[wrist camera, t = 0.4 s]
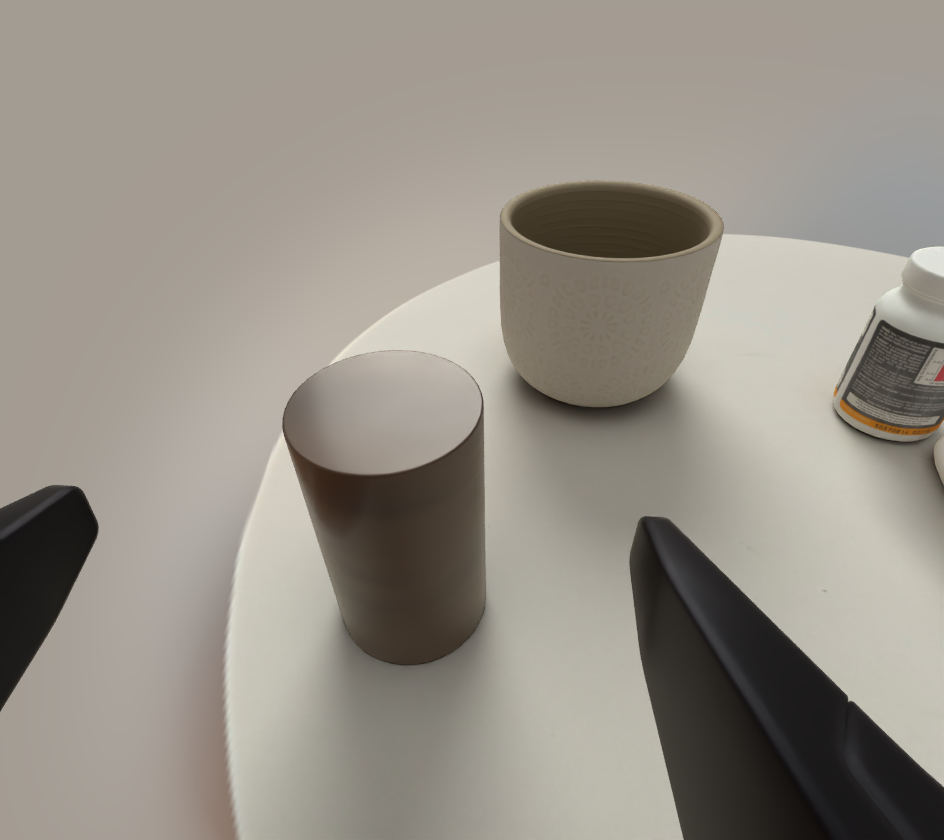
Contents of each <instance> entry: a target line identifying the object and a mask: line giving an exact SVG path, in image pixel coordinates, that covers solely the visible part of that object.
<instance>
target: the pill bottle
mask: <svg viewBox="0 0 944 840" xmlns="http://www.w3.org/2000/svg"><path fill="white" fill-rule="evenodd" d="M901 275H902V282H903V285H902V286H899V287H897V288H894V289H892V290H890V291H888V292H887V293H885V294H884V295H883V296H882V297H881V298H880V299H879V300H878V302H877V303H876V305H875V307H874V309H873V311H872V313H871V315H870V318H869V320H868V322H867V324H866V326H865V328H864V330H863V332H862V335H861V337H860V339H859V341H858V343H857V345H856V347H855V349H854V351H853V353H852V355H851V357H850V359H849V361H848V363H847V365H846V367H845V369H844V371H843V373H842V375H841V377H840V379H839V382H838V384H837V386H836V388H835V391H834V393H833V400H832V401H833V405H834V407H835V409H836V411H837V412H838V414H839V415H840V416H841V417H842V418H843V419H844V420H845V421H846V422H848V423H849V424H850V425H852V426H853V427H855V428H857V429H859V430H860V431H863V432H865V433H867V434H870V435H872V436H875V437H879V438H883V439H887V440H893V441H902V442H908V441H917V440H921V439H926V438H927V437H929V436H931V435H932V434H933V433H934V432H935V431H936V430H937V429H938V428H939V426H940V425H941V423H942V422H943V420H944V247H928V248H923V249H919V250H917V251H915V252H914V253H913V254H912V255H911V257H910V258H909V260H908V262H907V264H906V266H905V268H904V270H903V271H902V274H901Z"/></svg>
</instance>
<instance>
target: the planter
mask: <svg viewBox="0 0 944 840" xmlns="http://www.w3.org/2000/svg"><path fill="white" fill-rule="evenodd" d="M723 230H724V225H723V221H722V219H721V217H720V216H719V214H718V213H717V212H716V211H715V210H713V209H712V208H711V207H710V206H708V205H707V204H705V203H704V202H702V201H700V200H698V199H696V198H694V197H691V196H689V195H686V194H684V193H681V192H677V191H674V190H670V189H666V188H662V187H658V186H652V185H646V184H641V183H633V182H622V181H576V182H566V183H559V184H553V185H548V186H543V187H540V188H536V189H533V190H530V191H527V192H525V193H523V194H520V195H518V196H517V197H515V198H513V199H512V200H510V201H509V202H508V203H507V204H506V205H505V206H504V208H503V209H502V211H501V214H500V309H501V326H502V332H503V339H504V343H505V346H506V349H507V352H508V355H509V357H510V359H511V361H512V363H513V365H514V367H515V368H516V370H517V371H518V373H519V374H520V375H521V376H522V377H523V378H524V379H525V380H526V381H527V382H528V383H529V384H530V385H531V386H532V387H534V388H535V389H537V390H538V391H540V392H541V393H543V394H545V395H547V396H549V397H551V398H553V399H556V400H559V401H561V402H565V403H568V404H572V405H577V406H584V407H611V406H618V405H623V404H627V403H630V402H633V401H636V400H639V399H641V398H643V397H645V396H647V395H649V394H651V393H652V392H654V391H655V390H657V389H658V388H659V387H661V386H662V385H663V384H664V383H665V382H666V381H667V380H668V379H669V378H670V377H671V376H672V375H673V373H674V372H675V371H676V369H677V368H678V366H679V365H680V363H681V362H682V360H683V358H684V356H685V354H686V352H687V350H688V347H689V345H690V343H691V341H692V338H693V334H694V331H695V328H696V325H697V322H698V319H699V316H700V313H701V309H702V306H703V302H704V299H705V295H706V291H707V288H708V284H709V281H710V277H711V273H712V270H713V267H714V263H715V260H716V257H717V253H718V250H719V246H720V243H721V239H722V235H723Z"/></svg>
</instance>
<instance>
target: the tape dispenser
mask: <svg viewBox="0 0 944 840" xmlns="http://www.w3.org/2000/svg"><path fill="white" fill-rule="evenodd" d="M934 459H935V466H936V468H937V471H938V473H939V476H940V478H941V481H942V483H943V486H944V435H942V436H941V437H940V438H939V439H938V440H937V442H936V443H935V446H934Z"/></svg>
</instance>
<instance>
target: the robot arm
mask: <svg viewBox="0 0 944 840" xmlns="http://www.w3.org/2000/svg"><path fill="white" fill-rule="evenodd" d="M97 535H98V522H97V520H96V517H95V515H94V513H93V511H92V509H91V507H90V505H89V502H88V500H87V498H86V496H85V494H84V493H83V491H82V490H81V489H80V488H78V487H76V486H64V485H63V486H62V485H51V486H48V487H45V488H43V489H41V490H39V491H37V492H35V493H33V494H30V495H28V496H26V497H24V498H22V499H20V500H18V501H15V502H13V503H11V504H9V505H7V506H5V507H3V508H1V509H0V711H1V709H2V708H3V706H4V705H5V703H6V701H7V700H8V698H9V697H10V695H11V693H12V692H13V690H14V688H15V687H16V685H17V684H18V682H19V680H20V679H21V677H22V676H23V674H24V672H25V671H26V669H27V667H28V666H29V664H30V663H31V661H32V659H33V658H34V656H35V654H36V653H37V651H38V650H39V648H40V646H41V645H42V643H43V642H44V640H45V638H46V637H47V635H48V633H49V632H50V630H51V628H52V626H53V625H54V623H55V621H56V619H57V617H58V615H59V614H60V612H61V610H62V608H63V606H64V604H65V602H66V600H67V598H68V596H69V593H70V591H71V589H72V587H73V585H74V583H75V581H76V579H77V577H78V575H79V573H80V571H81V569H82V567H83V565H84V563H85V561H86V559H87V557H88V555H89V553H90V551H91V549H92V547H93V544H94V542H95V540H96V538H97ZM630 574H631V582H632V591H633V599H634V607H635V616H636V624H637V633H638V641H639V648H640V655H641V661H642V666H643V671H644V675H645V679H646V683H647V688H648V692H649V696H650V700H651V704H652V709H653V713H654V717H655V721H656V725H657V730H658V734H659V738H660V742H661V746H662V750H663V755H664V759H665V763H666V767H667V771H668V776H669V780H670V784H671V788H672V792H673V797H674V801H675V805H676V809H677V813H678V817H679V822H680V826H681V830H682V834H683V838H684V840H944V787H943V786H942V785H941V784H940V783H938V782H937V781H936V780H935V779H934V778H933V777H932V776H931V775H930V774H928V773H927V772H926V771H925V770H924V769H923V768H922V767H921V766H920V765H918V764H917V763H916V762H915V761H914V760H913V759H912V758H911V757H910V756H909V755H908V754H907V753H906V752H905V751H904V750H903V749H902V748H901V747H900V746H899V745H898V744H896V743H895V742H894V741H893V740H892V739H891V738H890V737H889V736H888V735H887V734H886V733H885V732H884V731H883V730H882V729H881V728H880V727H879V726H878V725H877V724H876V723H875V722H874V721H873V720H872V719H871V718H870V717H869V716H868V715H867V714H866V713H865V712H864V711H863V710H862V709H861V708H859V707H858V706H857V705H856V704H855V703H854V702H853V701H849V702H848V696H847V695H846V694H845V693H844V692H843V691H842V690H841V689H840V688H839V687H838V686H837V685H836V684H835V683H834V682H833V681H832V680H831V679H830V678H829V677H828V676H827V675H826V674H825V673H824V672H823V671H822V670H821V669H820V668H819V667H818V666H817V665H816V664H815V663H814V662H813V661H812V660H811V659H810V658H809V657H808V656H807V655H806V654H805V653H804V652H803V651H802V650H801V649H800V648H799V647H798V646H797V645H796V644H795V643H794V642H793V641H792V640H791V639H790V638H789V637H788V636H787V635H785V634H784V633H783V632H782V631H781V630H780V629H779V628H778V627H777V626H776V625H775V624H774V623H773V622H772V621H771V620H770V619H769V618H768V617H767V616H766V615H765V614H764V613H763V612H762V611H761V610H760V609H759V608H758V607H757V606H756V605H755V604H754V603H753V602H752V601H751V600H750V599H749V598H748V597H747V596H746V595H745V594H744V593H743V592H742V591H741V590H740V589H739V588H738V587H737V586H736V585H735V584H734V583H733V582H732V581H731V580H730V579H729V578H728V577H727V576H726V575H725V574H724V573H723V572H722V571H721V570H720V569H719V568H718V567H717V566H716V565H715V564H714V563H713V562H712V561H711V560H710V559H709V558H708V557H707V556H706V555H705V554H704V553H703V552H702V551H701V550H700V549H699V548H698V547H697V546H696V545H695V544H694V543H693V542H692V541H691V540H690V539H689V538H688V537H687V536H686V535H685V534H684V533H683V532H681V531H680V530H679V529H678V528H677V527H676V526H675V525H674V524H673V523H672V522H671V521H670V520H669V519H667V518H664V517H647V516H645V517H642V518H641V519H640V520H639V522H638V525H637V529H636V532H635V536H634V540H633V544H632V548H631V552H630Z"/></svg>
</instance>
